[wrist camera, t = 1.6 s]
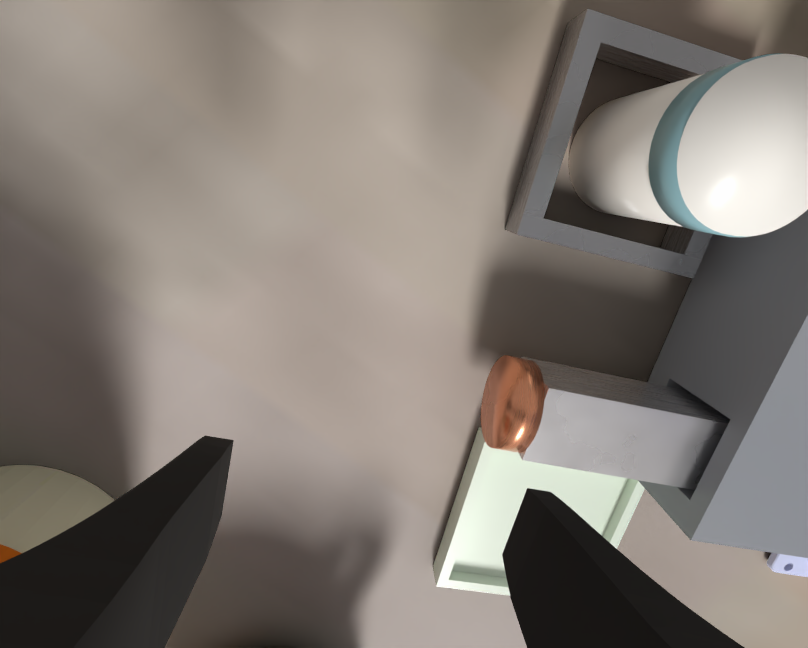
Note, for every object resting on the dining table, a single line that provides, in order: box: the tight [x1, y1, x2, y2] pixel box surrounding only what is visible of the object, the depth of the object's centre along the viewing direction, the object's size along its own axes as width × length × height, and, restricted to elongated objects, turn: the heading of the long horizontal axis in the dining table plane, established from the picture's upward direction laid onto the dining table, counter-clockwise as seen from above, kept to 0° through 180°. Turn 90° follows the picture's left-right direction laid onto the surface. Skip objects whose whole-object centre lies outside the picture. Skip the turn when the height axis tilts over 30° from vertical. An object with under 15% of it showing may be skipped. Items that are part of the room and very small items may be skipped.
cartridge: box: [569, 53, 808, 237], centre depth 15 cm, size 4×4×7 cm
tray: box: [433, 427, 645, 596], centre depth 23 cm, size 8×8×1 cm
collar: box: [505, 9, 743, 279], centre depth 18 cm, size 8×8×2 cm
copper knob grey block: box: [481, 355, 731, 490], centre depth 19 cm, size 9×4×4 cm, turn 76°
